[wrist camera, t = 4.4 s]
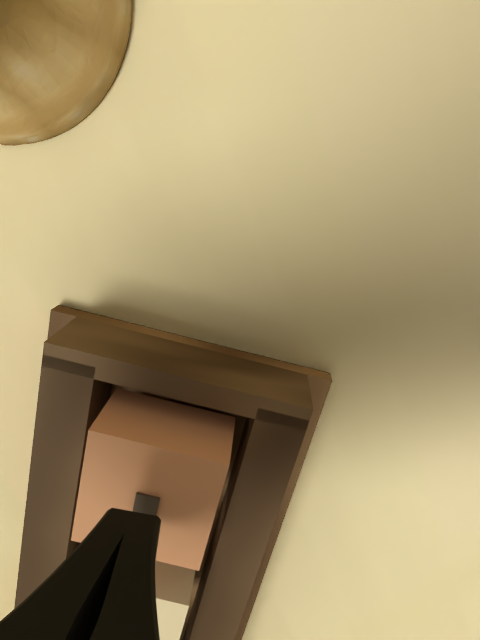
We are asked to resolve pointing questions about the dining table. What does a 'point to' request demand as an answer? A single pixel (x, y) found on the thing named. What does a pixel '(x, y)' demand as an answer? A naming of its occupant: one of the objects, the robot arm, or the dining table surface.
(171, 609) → the key two cream
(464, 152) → the dining table surface
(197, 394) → the wooden tray
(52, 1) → the hand bell
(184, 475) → the key one terracotta
